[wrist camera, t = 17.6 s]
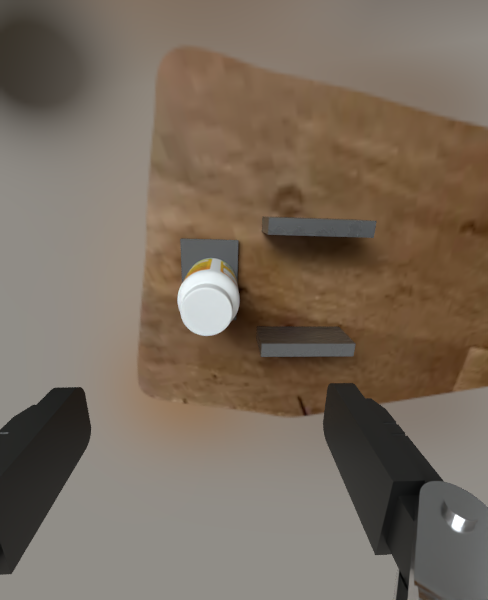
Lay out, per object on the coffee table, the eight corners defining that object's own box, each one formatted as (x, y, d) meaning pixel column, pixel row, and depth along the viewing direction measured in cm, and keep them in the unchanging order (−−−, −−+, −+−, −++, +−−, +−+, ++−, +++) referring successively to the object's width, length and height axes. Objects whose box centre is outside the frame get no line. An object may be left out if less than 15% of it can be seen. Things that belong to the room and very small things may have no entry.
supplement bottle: (183, 299, 31) (165, 337, 22) (192, 252, 29) (177, 271, 20) (230, 309, 31) (232, 350, 22) (241, 263, 30) (249, 287, 21)
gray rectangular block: (238, 240, 30) (238, 240, 29) (236, 318, 32) (236, 320, 32) (181, 238, 29) (180, 239, 29) (184, 318, 32) (183, 319, 31)
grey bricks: (354, 219, 30) (376, 221, 26) (337, 338, 34) (353, 356, 30) (262, 216, 29) (269, 217, 25) (256, 338, 33) (260, 356, 29)
